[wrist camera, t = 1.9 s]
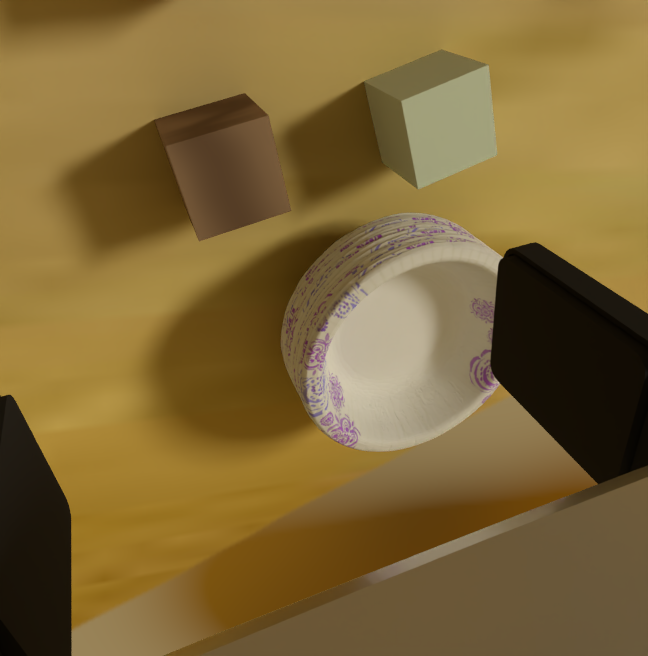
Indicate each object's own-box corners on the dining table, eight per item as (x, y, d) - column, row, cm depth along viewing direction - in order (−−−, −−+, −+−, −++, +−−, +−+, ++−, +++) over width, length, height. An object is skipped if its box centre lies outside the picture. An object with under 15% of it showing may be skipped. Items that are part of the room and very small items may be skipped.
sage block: (441, 49, 34) (488, 64, 31) (452, 131, 37) (497, 155, 34) (363, 81, 34) (401, 101, 30) (381, 161, 37) (418, 189, 33)
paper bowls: (478, 330, 48) (540, 390, 41) (306, 415, 46) (343, 490, 40) (448, 155, 38) (521, 199, 32) (231, 254, 37) (264, 320, 31)
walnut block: (244, 92, 32) (268, 115, 28) (266, 179, 35) (291, 210, 31) (153, 119, 31) (165, 146, 27) (184, 205, 34) (199, 241, 30)
